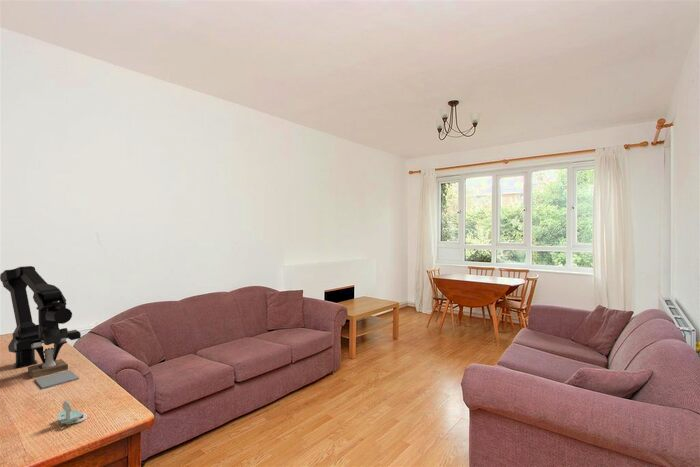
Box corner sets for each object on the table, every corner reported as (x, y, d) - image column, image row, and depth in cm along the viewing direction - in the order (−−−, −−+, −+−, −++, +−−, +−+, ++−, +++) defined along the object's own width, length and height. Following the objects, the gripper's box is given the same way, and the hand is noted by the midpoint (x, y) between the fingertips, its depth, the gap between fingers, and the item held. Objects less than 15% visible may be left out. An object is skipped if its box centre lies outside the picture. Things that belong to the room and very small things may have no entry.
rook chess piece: (47, 372, 130) (47, 350, 130) (38, 371, 131) (38, 350, 131) (59, 367, 135) (59, 347, 135) (50, 366, 135) (50, 346, 136)
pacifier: (81, 413, 100) (55, 421, 95) (82, 391, 100) (55, 398, 95) (90, 420, 96) (63, 430, 91) (91, 397, 96) (63, 406, 91)
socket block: (27, 371, 132) (27, 366, 132) (61, 363, 140) (61, 358, 140) (33, 378, 125) (33, 372, 125) (67, 369, 133) (67, 364, 133)
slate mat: (34, 380, 124) (34, 378, 124) (70, 371, 131) (70, 370, 131) (42, 389, 116) (42, 387, 116) (79, 379, 124) (79, 377, 124)
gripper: (18, 330, 121) (19, 375, 121) (84, 319, 135) (85, 359, 135) (13, 325, 128) (14, 367, 128) (76, 315, 142) (77, 353, 142)
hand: (49, 361), depth 133 cm, fingers closed on rook chess piece, 3 cm apart
